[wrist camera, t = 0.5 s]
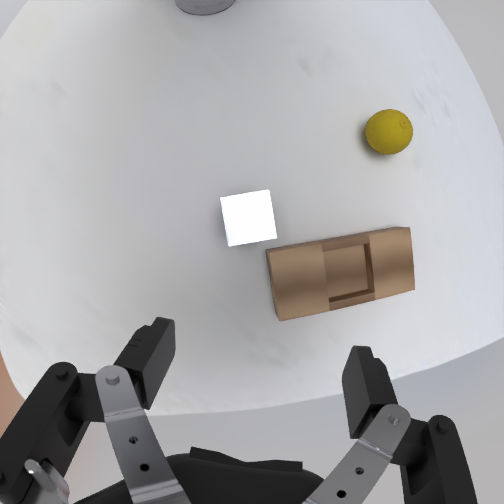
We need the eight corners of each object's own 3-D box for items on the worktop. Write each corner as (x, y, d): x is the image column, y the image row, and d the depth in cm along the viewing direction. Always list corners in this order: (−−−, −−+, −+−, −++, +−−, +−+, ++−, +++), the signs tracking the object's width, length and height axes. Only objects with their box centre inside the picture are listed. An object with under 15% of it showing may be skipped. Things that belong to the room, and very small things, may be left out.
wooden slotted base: (265, 249, 37) (268, 252, 34) (396, 226, 38) (409, 227, 35) (275, 312, 38) (279, 321, 35) (401, 284, 39) (414, 289, 36)
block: (224, 205, 37) (220, 197, 25) (257, 200, 37) (269, 189, 25) (229, 238, 37) (228, 246, 25) (262, 233, 37) (277, 238, 25)
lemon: (398, 139, 37) (430, 124, 29) (380, 167, 37) (411, 157, 29) (368, 112, 37) (396, 92, 29) (349, 140, 37) (374, 123, 29)
